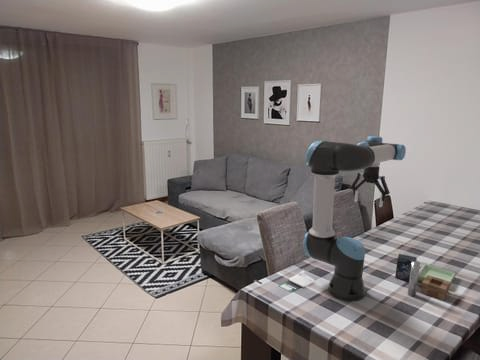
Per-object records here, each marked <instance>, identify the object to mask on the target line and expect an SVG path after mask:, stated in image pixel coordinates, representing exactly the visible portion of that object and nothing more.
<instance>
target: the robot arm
mask: <svg viewBox="0 0 480 360" xmlns="http://www.w3.org/2000/svg"><path fill="white" fill-rule="evenodd" d="M366 139H367V140H366V141H360V142H358V143H357V144H352V143H347V142H338V141H337V142H336V141H328V140H317V141H313V142H312V143H311V144H310V146H309V147H308V149H307V151H306V156H305V162H306V166H308V167H310V168H311V169H310V173H311V174H312V175H313V179H314V182H313V203H312V205H313V206H312V227H311V228H310V229H309V230H308V231H307V232H306V233H305V235H304V236H303V237H304V238H303V240H302V248H303V252H304V253H305V255H306V256H307V257H309V258H311V259H312V260H317V261H320V262H323V263H325V264H329V265H331V266H333V267H334V272H333V275H332V276H331V279H330V281H329V284H328V291H329V292H330V294H331V295H332V296H334V297H336V298H338V299H340V300H344V301H351V302H352V301H353V302H354V301H361V300H362V299H363V298H365V296H366V288H365V284H364V283H365V282H364V280H363V273H364V265H365V257H366V255H365V254H366V253H365V251H366V250H365V245H364V244H363V243H362V242H361V241H360V240H358V239H356V238H353V237H349V236H340V237H338V238H336V231H335V230H334V229H333V218H334V204H335V203H334V202H335V201H334V200H335V183H336V181H335V180H336V177H337V176H338V175H339V174H340V172H343V173H344V172H348V173H349V172H355V171H356V172H357V171H361V170H363V173H362V172H358V173H357V176H356V178H355V179H354V181H353V183H352V184H351V186H350V189H352V190H353V194H352V195H353V196H354V203H357V202H358V201H359V192H360V191H359V188H360V187H362V185H364V184H365V183H367V184H369V183H370V184H374V186H375V187H377V189H378V190H379V192H380V197H379V205H378V206H379V208H382V207H383V205H384V204H383V203H384V202H385V201H386V196H388V195H389V194H390V193H391V192H390V190H389V188H388V184H387V182H386V177H385V175H382V176H381V175H380V164H381V163H383V162H387V161H402V160H403V159H404V158H405V157H406V153H407V152H406V150H407V148H406V146H405V145H404V144H399V143H388V142H383V137H382V136H374V135H369V136H367V138H366ZM361 178H363V179H362V180H361ZM360 180H361V181H360ZM359 181H360V182H359Z"/></svg>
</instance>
